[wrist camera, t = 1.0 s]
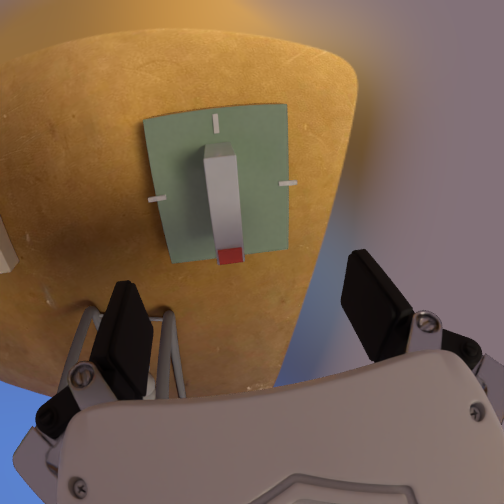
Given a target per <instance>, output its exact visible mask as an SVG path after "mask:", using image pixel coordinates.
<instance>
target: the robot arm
mask: <svg viewBox="0 0 504 504" xmlns="http://www.w3.org/2000/svg"><path fill="white" fill-rule="evenodd" d="M341 305H342V308H343V309H344V311H345V313H346V315H347V317H348V318H349V320H350V322H351V324H352V326H353V328H354V330H355V332H356V334H357V335H358V338H359V339H360V341H361V343H362V345H363V347H364V349H365V351H366V353H367V355H368V357H369V359H370V360H371V361H374V363H373V364H370V365H367V366H363V367H360V368H356V369H353V370H349V371H346V372H342V373H339V374H334V375H330V376H326V377H322V378H318V379H314V380H309V381H305V382H300V383H295V384H290V385H285V386H280V387H274V388H268V389H262V390H256V391H249V392H242V393H234V394H226V395H216V396H206V397H193V398H176V399H154V400H143V397H145V396H146V394H147V383H148V373H149V364H150V356H151V348H152V340H153V326H152V324H151V321H150V319H149V317H148V314H147V312H146V310H145V307H144V305H143V303H142V300H141V298H140V295H139V293H138V290H137V288H136V285H135V284H134V283H131V282H130V281H129V280H127V281H118V282H117V283H116V285H115V287H114V290H113V293H112V295H111V298H110V301H109V304H108V307H107V310H106V313H104V314H103V316H102V319H101V322H100V325H99V328H98V332H97V335H96V338H95V341H94V345H93V348H92V351H91V355H90V359H89V361H80V362H78V363H76V364H75V365H74V366H72V367H71V369H70V370H69V372H68V375H67V382H68V386H66V387H65V388H64V389H62V390H61V391H60V392H59V393H57V394H56V395H55V396H53V397H52V398H51V399H50V400H48V401H47V402H46V403H45V404H43V405H42V406H41V407H40V408H39V409H38V411H37V413H36V418H35V420H36V427H35V428H34V427H33V426H32V427H31V428H30V430H29V431H28V433H27V434H26V436H25V437H24V439H23V440H22V442H21V443H20V445H19V446H18V448H17V449H16V451H15V452H14V455H13V465H14V467H15V469H16V471H17V472H18V473H19V474H20V476H21V477H22V478H23V479H24V481H25V482H26V483H27V484H28V485H29V487H30V488H31V489H32V490H33V491H34V492H35V493H36V495H37V496H38V497H39V498H40V499H41V500H42V501H43V502H44V503H45V504H504V431H503V428H502V426H501V425H502V422H503V420H504V366H503V365H501V364H500V363H498V362H497V361H496V360H494V359H493V358H491V357H490V356H488V355H487V354H485V355H484V356H483V355H482V350H481V347H480V346H479V345H478V343H477V342H475V341H474V340H472V339H470V338H468V337H465V336H462V335H459V334H456V333H453V332H450V331H447V330H445V329H442V322H441V320H440V319H439V317H438V316H437V315H435V314H434V313H432V312H430V311H426V310H422V311H418V312H416V313H414V311H413V310H412V309H413V308H412V307H411V305H410V304H409V303H408V301H407V300H406V299H405V297H404V296H403V295H402V293H401V292H400V291H399V290H398V288H397V287H396V286H395V284H394V283H393V282H392V281H391V279H390V278H389V277H388V276H387V274H386V273H385V272H384V271H383V269H382V268H381V267H380V266H379V265H378V263H377V262H376V261H375V260H374V259H373V258H372V256H371V255H370V254H369V253H368V251H366V249H361V250H354V251H352V254H350V255H349V256H348V262H347V268H346V274H345V280H344V285H343V291H342V296H341Z"/></svg>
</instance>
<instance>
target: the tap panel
mask: <svg viewBox="0 0 504 504" xmlns="http://www.w3.org/2000/svg"><path fill="white" fill-rule="evenodd" d="M143 125H144V132H145V138H146V145H147V151H148V157H149V162H150V168H151V173H152V179H153V184H154V189H155V194H156V196H154V197H148V201H149V202H155V201H157V203H158V208H159V213H160V217H161V221H162V226H163V230H164V234H165V238H166V242H167V246H168V250H169V254H170V258H171V262H172V264H173V263H181V262H189V261H197V260H205V259H213V258H217V257H216V251H215V244H214V238H213V231H212V224H211V217H210V209H209V202H208V195H207V187H206V179H205V171H204V163H203V158H204V149H205V145H206V144H214V143H223V142H231V144H232V147H233V149H234V152H235V154H236V157H237V169H238V182H239V194H240V207H241V219H242V231H243V243H244V254H253V253H261V252H269V251H277V250H285V249H288V230H289V185H297V180H289V161H288V115H287V104H283V103H254V104H239V105H227V106H217V107H208V108H200V109H192V110H186V111H179V112H173V113H168V114H162V115H157V116H152V117H149V118H147V119H144V120H143Z"/></svg>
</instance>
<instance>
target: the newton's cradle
mask: <svg viewBox="0 0 504 504" xmlns="http://www.w3.org/2000/svg"><path fill="white" fill-rule="evenodd" d="M102 316H103V314H100V313H99V311H98V309H97V308H96V307H94V306H89V307H87V308H86V309H85V311H84V313H83V315H82V318H81V320H80V323H79V326H78V328H77V331H76V334H75V336H74V339H73V342H72V345H71V348H70V351H69V354H68V357H67V360H66V363H65V366H64V370H63V373H62V377H61V380H60V384H59V387H58V391H57V393H59V392H60V391H61V390H62V389H64V388H65V387H66V386H68V382H67V375H68V372H69V370H70V369H71V367H72V366H74V365H75V364H76V363H77V362H78V359H79V355H80V352H81V349H82V346H83V342H84V339H85V336H86V333H87V330H88V328H89V325H90V322H91V319H93V321H94V324H95V327H96V329H97V332H98V328H99V325H100V322H101V317H102ZM149 319H150V321H162V329H161V337H160V347H159V356H158V367H157V379H156V388H155V381H154V378H153V376H152V375H151V374H150V373H148V383H147V394H146V396H145V397H143V400H154V399H169V373H170V355H171V357H172V362H173V367H174V373H175V378H176V383H177V388H178V392H179V397H180V398H186V393H185V387H184V381H183V375H182V368H181V361H180V354H179V346H178V338H177V330H176V321H175V315H174V313H173V312H172V311H170V310H168V311H166V312H165V313H164V315H163V318H158V317H149ZM149 369H150V365H149Z"/></svg>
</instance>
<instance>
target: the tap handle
mask: <svg viewBox="0 0 504 504" xmlns="http://www.w3.org/2000/svg"><path fill="white" fill-rule="evenodd" d="M203 163H204V171H205V179H206V187H207V195H208V202H209V209H210V217H211V224H212V231H213V238H214V244H215V251H216V257H217V264H218V265H222V264H230V263H238V262H244V261H245V254H244V243H243V231H242V219H241V207H240V194H239V182H238V169H237V157H236V154H235V152H234V149H233V147H232V144H231V142H223V143H214V144H206V145H205V149H204V158H203Z"/></svg>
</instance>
